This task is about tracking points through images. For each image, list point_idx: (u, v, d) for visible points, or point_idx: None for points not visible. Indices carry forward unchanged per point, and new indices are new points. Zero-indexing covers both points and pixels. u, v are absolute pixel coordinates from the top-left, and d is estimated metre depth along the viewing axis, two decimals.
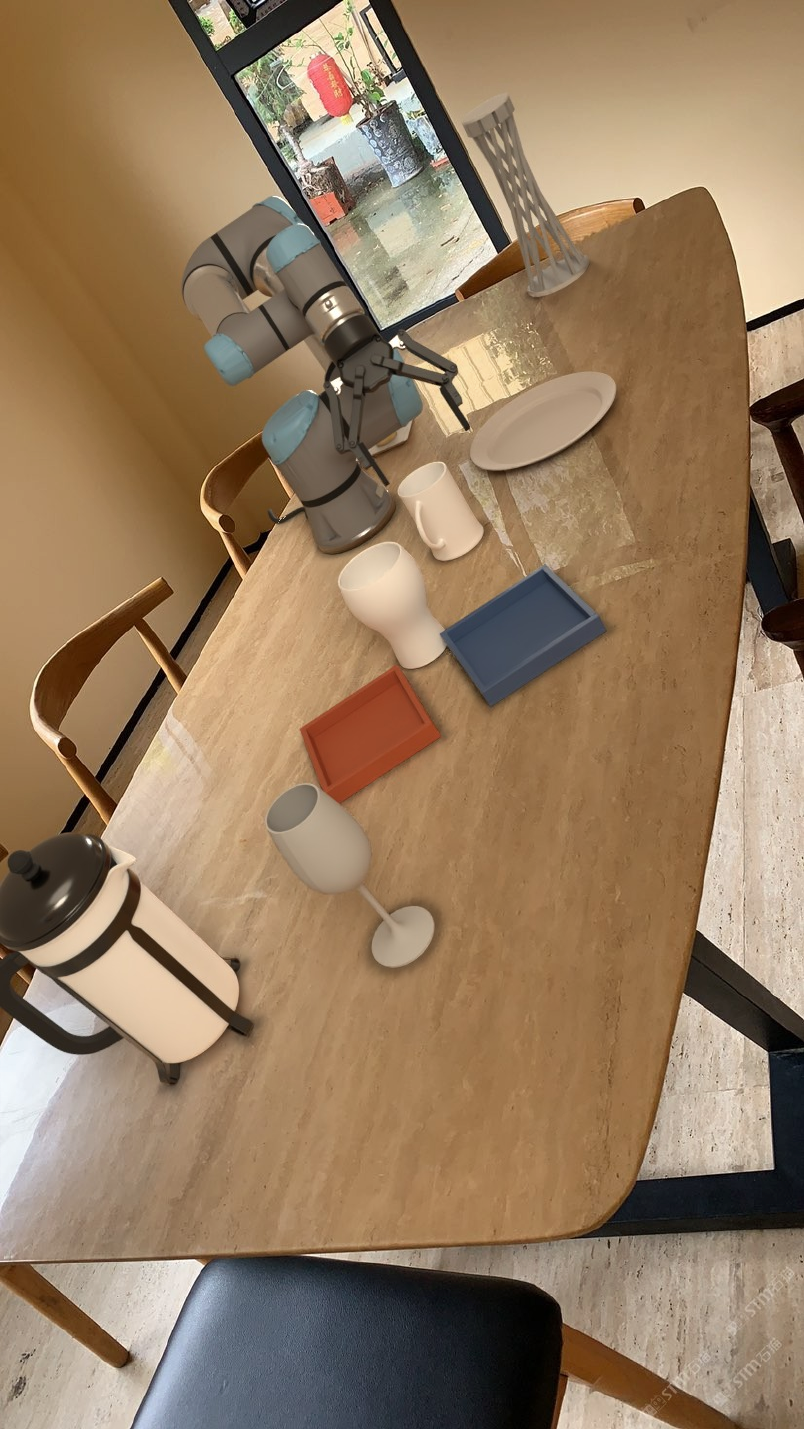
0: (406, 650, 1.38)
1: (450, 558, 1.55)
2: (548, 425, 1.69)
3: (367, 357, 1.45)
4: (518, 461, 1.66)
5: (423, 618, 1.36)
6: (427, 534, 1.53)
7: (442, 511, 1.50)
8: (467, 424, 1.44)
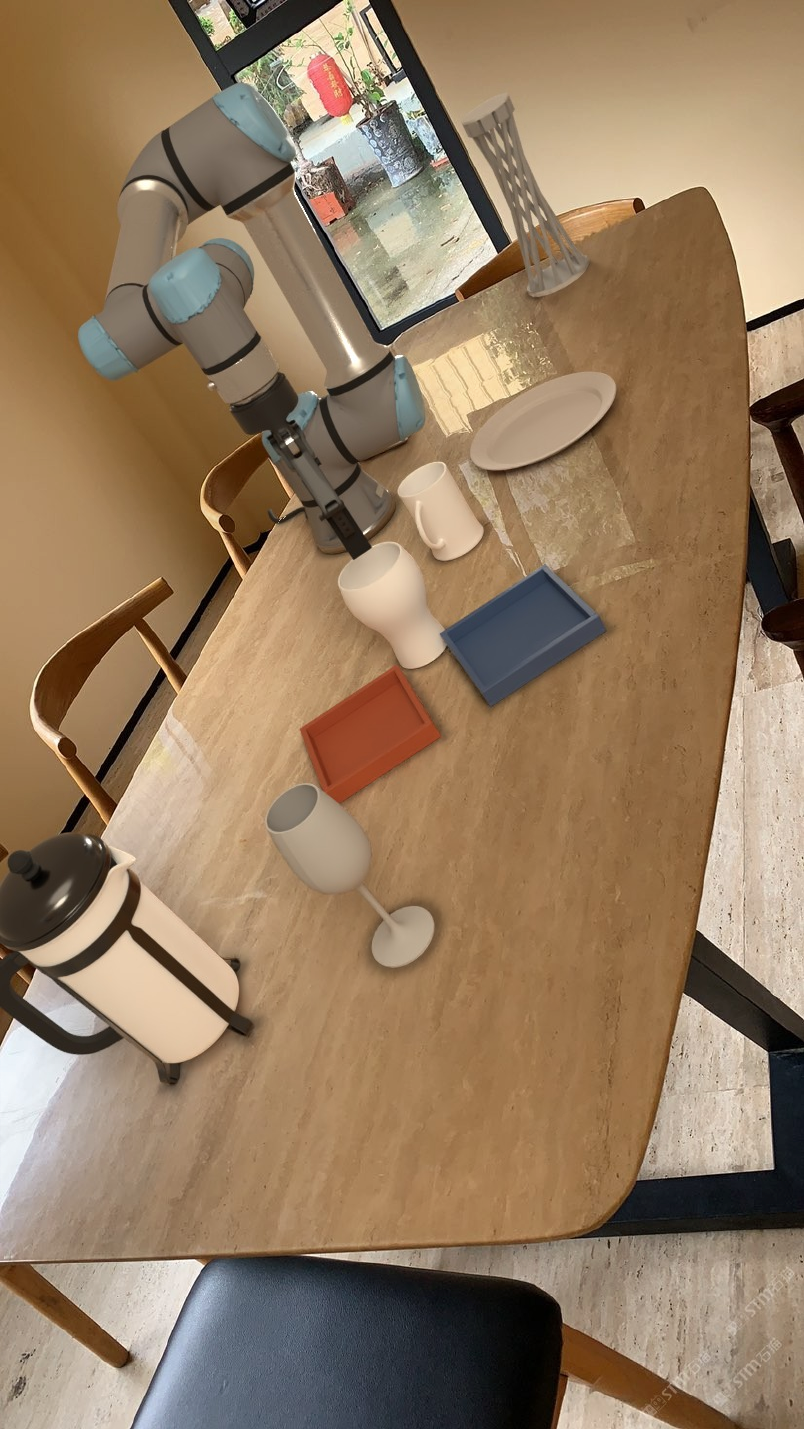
0: (406, 650, 1.38)
1: (450, 558, 1.55)
2: (548, 425, 1.69)
3: None
4: (518, 461, 1.66)
5: (423, 618, 1.36)
6: (427, 534, 1.53)
7: (442, 511, 1.50)
8: None
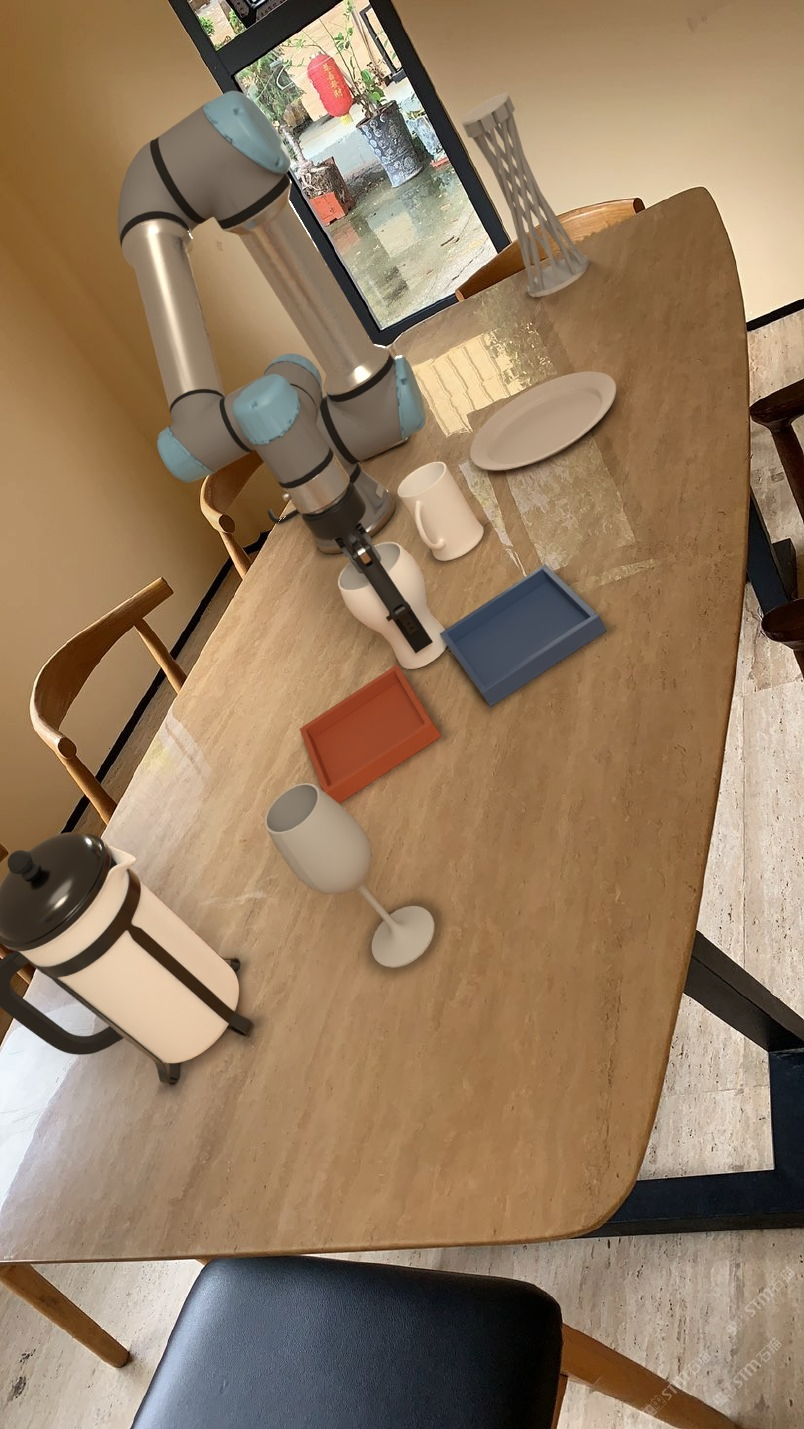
0: (406, 650, 1.38)
1: (450, 558, 1.55)
2: (548, 425, 1.69)
3: None
4: (518, 461, 1.66)
5: (423, 618, 1.36)
6: (427, 534, 1.53)
7: (442, 511, 1.50)
8: (414, 651, 1.34)
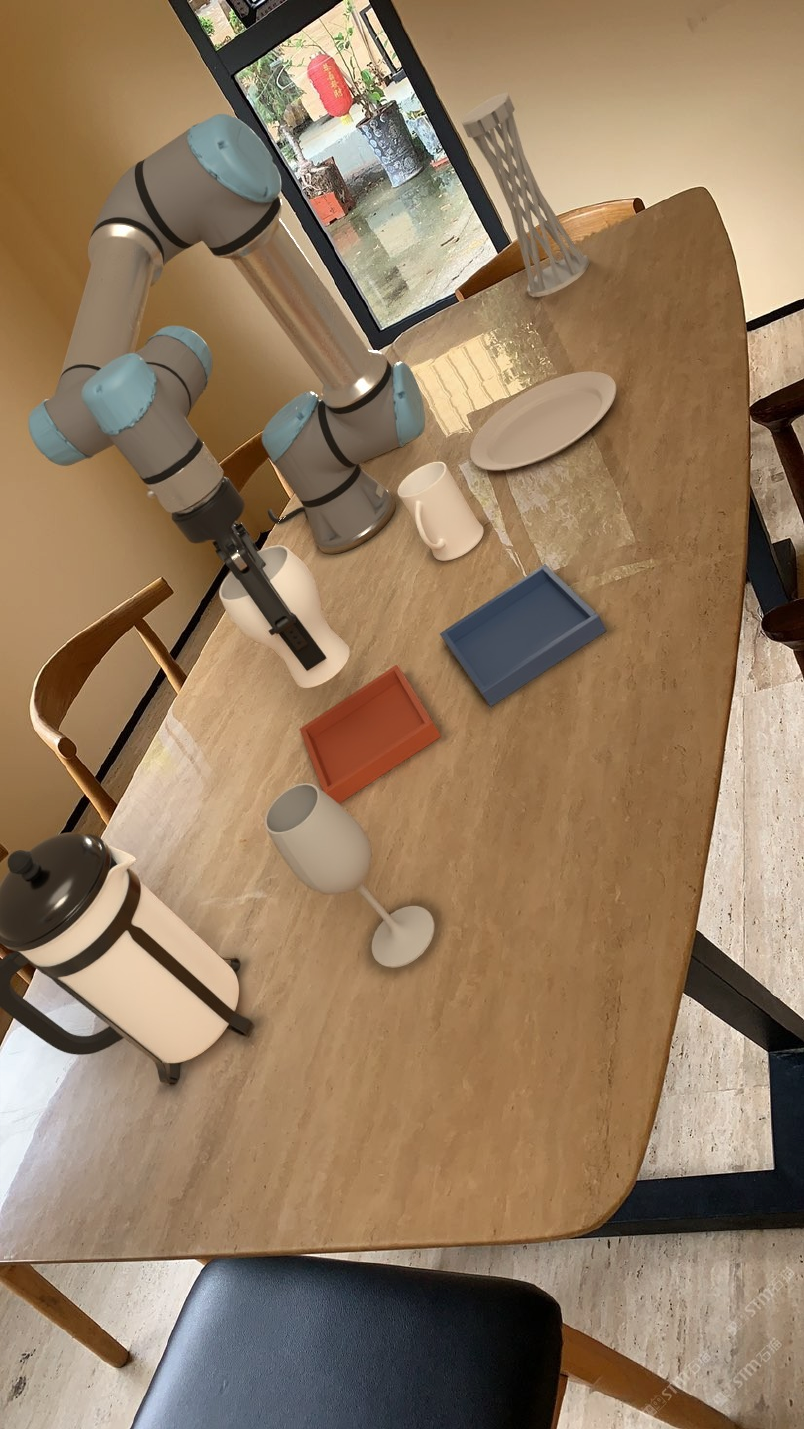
0: (299, 667, 1.22)
1: (450, 558, 1.55)
2: (548, 425, 1.69)
3: None
4: (518, 461, 1.66)
5: (317, 631, 1.21)
6: (427, 534, 1.53)
7: (442, 511, 1.50)
8: (306, 669, 1.19)
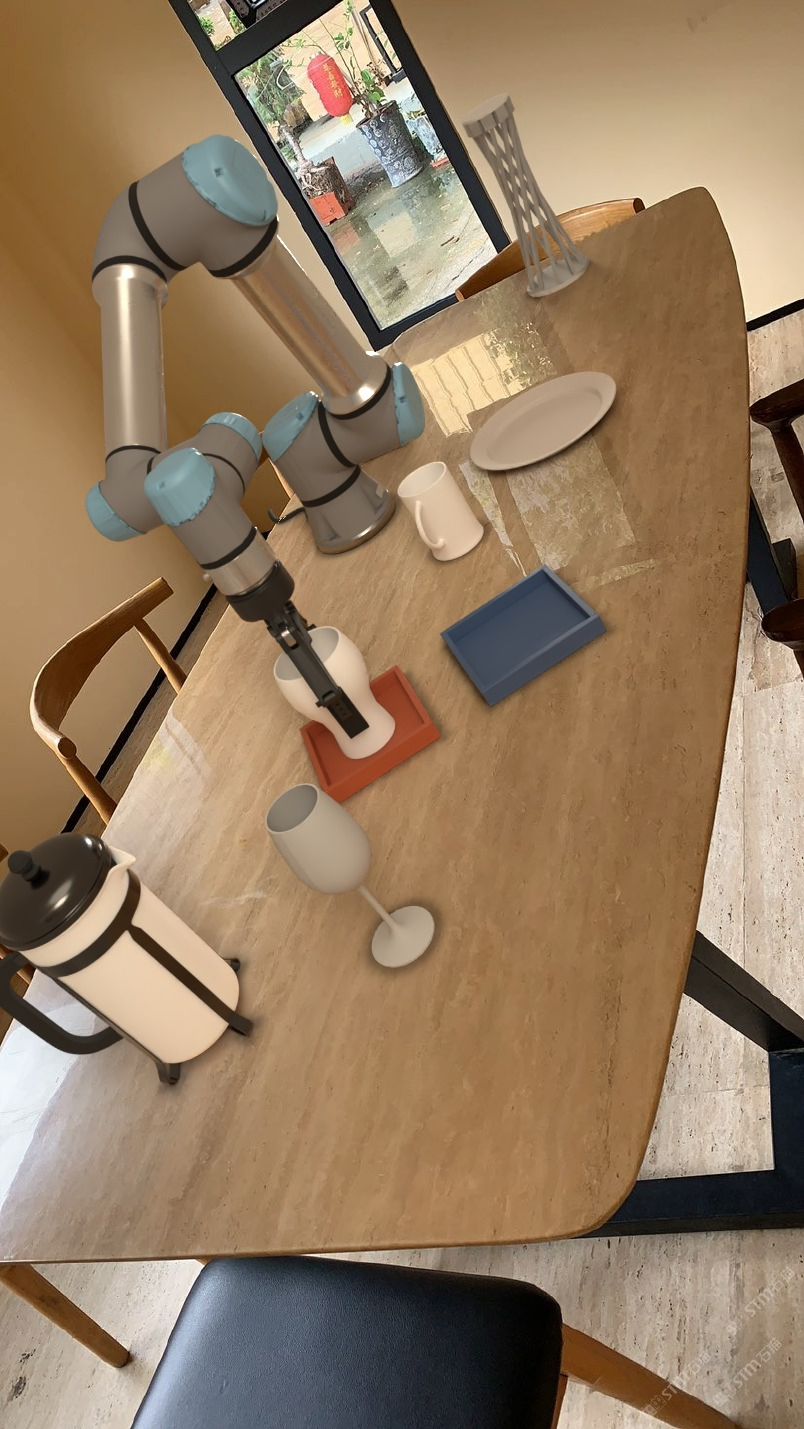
0: (348, 740, 1.29)
1: (450, 558, 1.55)
2: (548, 425, 1.69)
3: None
4: (518, 461, 1.66)
5: (365, 707, 1.27)
6: (427, 534, 1.53)
7: (442, 511, 1.50)
8: None
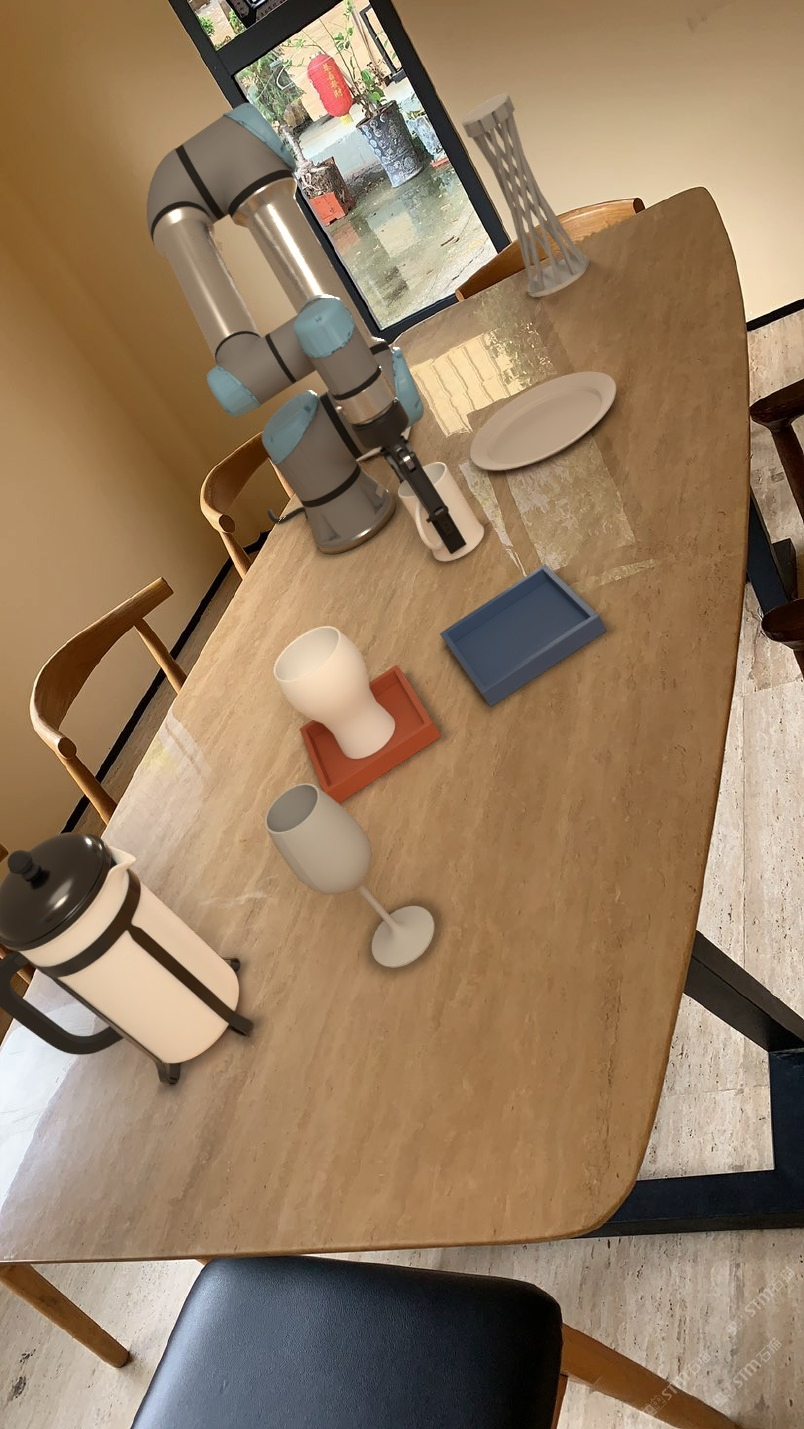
0: (348, 740, 1.29)
1: (450, 559, 1.54)
2: (548, 425, 1.69)
3: (386, 447, 1.45)
4: (518, 461, 1.66)
5: (365, 707, 1.27)
6: (427, 535, 1.53)
7: None
8: (450, 552, 1.51)
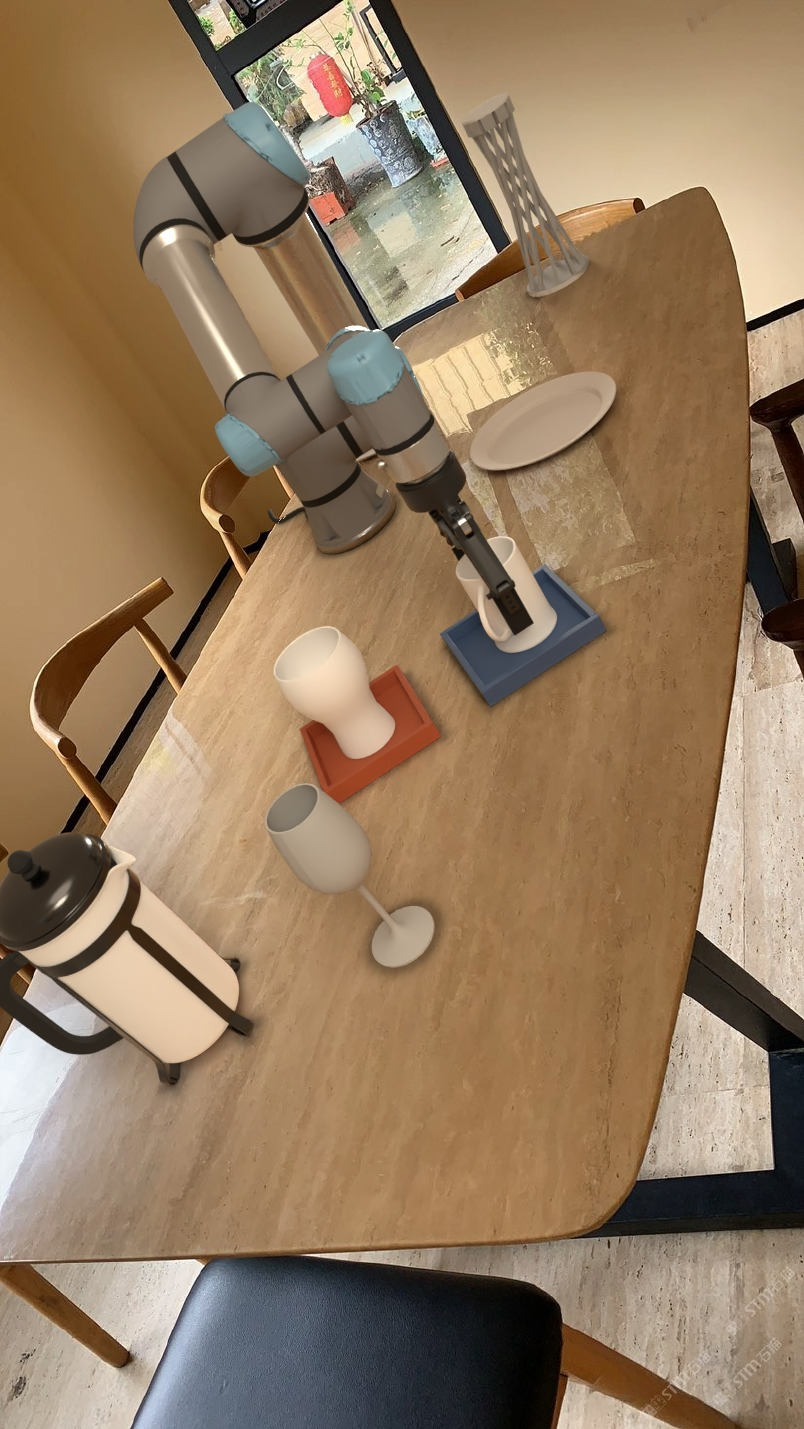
0: (348, 740, 1.29)
1: (517, 650, 1.29)
2: (548, 425, 1.69)
3: (437, 510, 1.19)
4: (518, 461, 1.66)
5: (365, 707, 1.27)
6: (490, 622, 1.28)
7: None
8: (513, 633, 1.23)
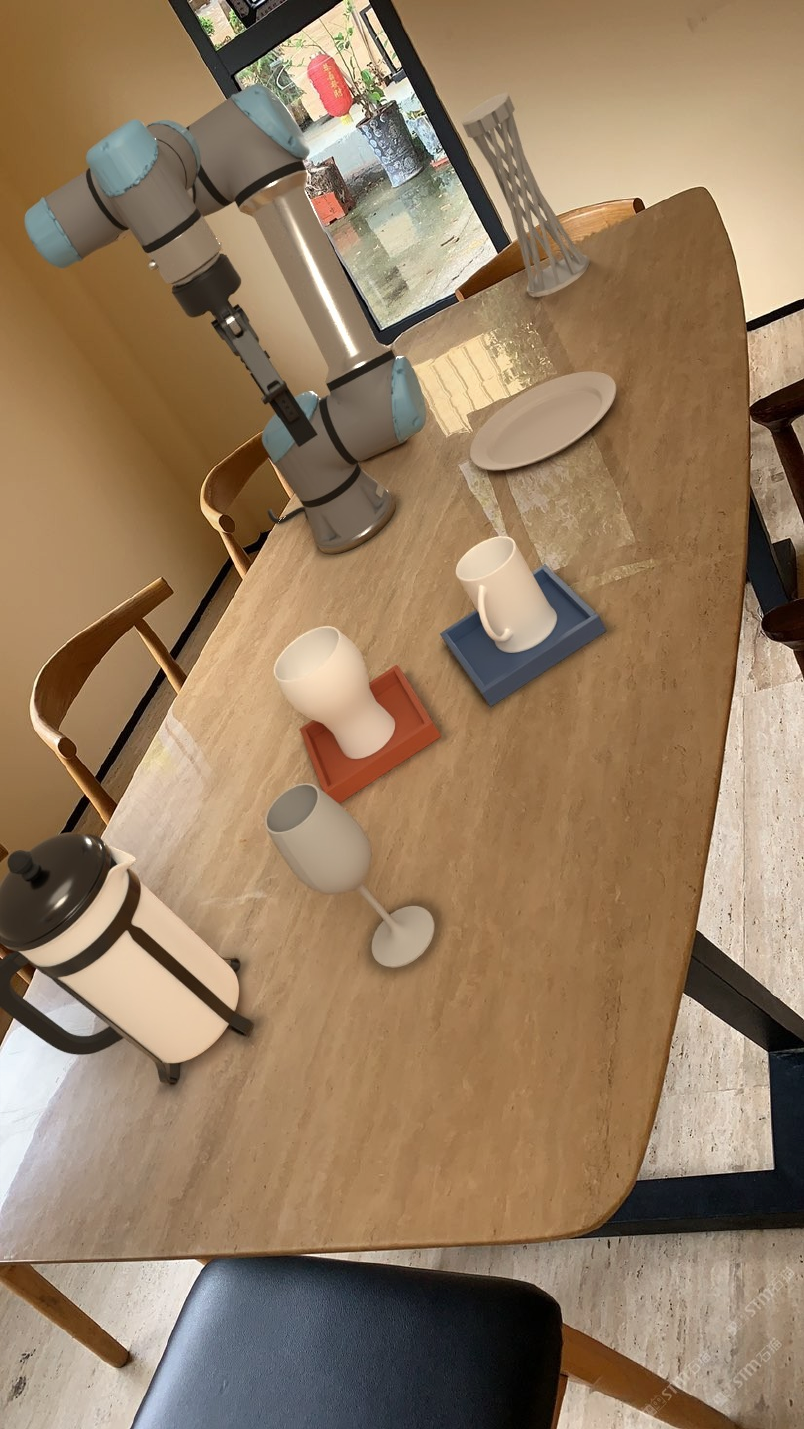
0: (348, 740, 1.29)
1: (517, 650, 1.29)
2: (548, 425, 1.69)
3: None
4: (518, 461, 1.66)
5: (365, 707, 1.27)
6: (490, 622, 1.28)
7: (510, 598, 1.24)
8: (298, 445, 1.24)
